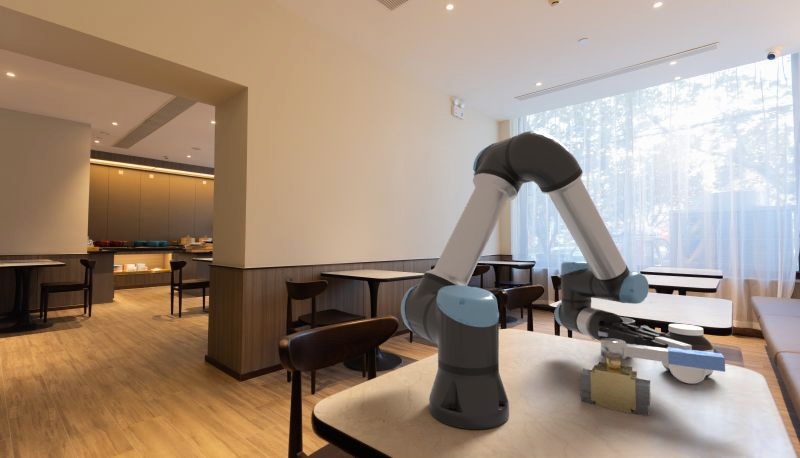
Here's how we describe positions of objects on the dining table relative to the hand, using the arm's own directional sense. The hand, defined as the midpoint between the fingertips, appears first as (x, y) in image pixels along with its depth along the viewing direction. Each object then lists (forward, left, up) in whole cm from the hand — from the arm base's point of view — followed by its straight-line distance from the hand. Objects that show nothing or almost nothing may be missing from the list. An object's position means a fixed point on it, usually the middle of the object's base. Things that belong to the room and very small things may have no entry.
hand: (687, 352), depth 70 cm
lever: (-5, +2, -2) cm, 6 cm away
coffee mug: (+15, +36, -12) cm, 41 cm away
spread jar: (+17, +16, -12) cm, 27 cm away
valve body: (-11, +6, -11) cm, 17 cm away
